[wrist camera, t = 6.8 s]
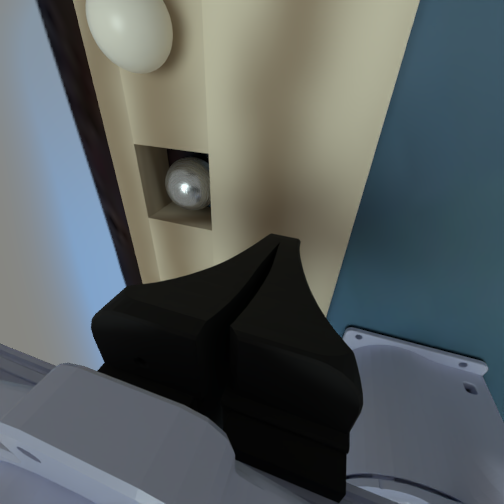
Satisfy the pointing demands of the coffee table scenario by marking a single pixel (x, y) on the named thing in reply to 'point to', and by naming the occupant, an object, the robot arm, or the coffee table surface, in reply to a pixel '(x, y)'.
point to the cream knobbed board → (253, 127)
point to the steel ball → (189, 183)
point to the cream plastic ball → (131, 32)
